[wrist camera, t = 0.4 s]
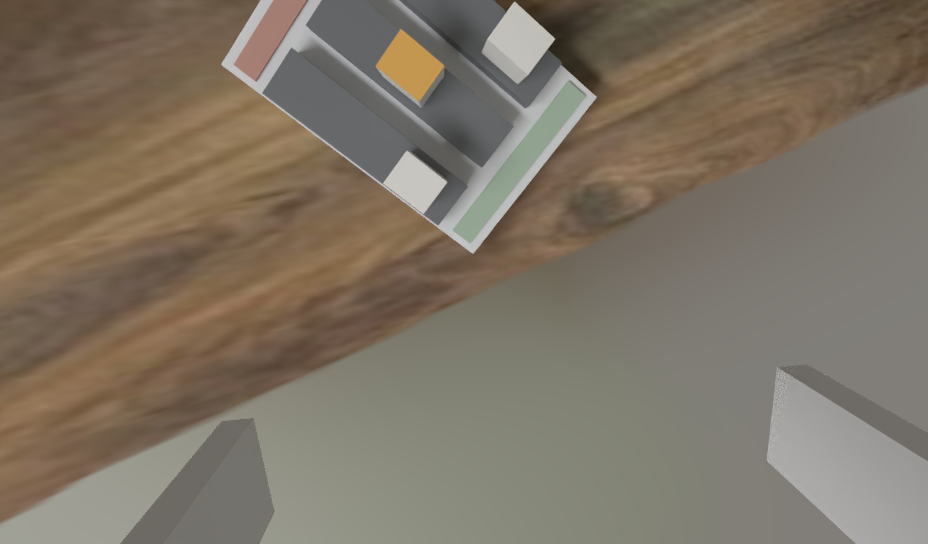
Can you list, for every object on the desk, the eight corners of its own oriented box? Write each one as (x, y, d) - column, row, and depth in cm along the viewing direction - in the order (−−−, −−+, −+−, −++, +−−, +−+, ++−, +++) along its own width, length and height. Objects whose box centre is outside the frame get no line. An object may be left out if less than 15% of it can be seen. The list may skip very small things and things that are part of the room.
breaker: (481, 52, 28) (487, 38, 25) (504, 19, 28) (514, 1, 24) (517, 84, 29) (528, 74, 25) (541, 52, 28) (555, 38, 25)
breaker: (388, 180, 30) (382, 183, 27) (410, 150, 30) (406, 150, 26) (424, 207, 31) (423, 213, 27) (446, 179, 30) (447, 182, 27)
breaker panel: (234, 70, 31) (209, 59, 28) (348, -115, 29) (337, -150, 25) (471, 248, 35) (474, 258, 32) (587, 100, 33) (604, 94, 30)
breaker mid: (383, 77, 28) (375, 66, 25) (405, 44, 28) (400, 28, 24) (421, 108, 29) (419, 101, 25) (443, 76, 28) (444, 65, 25)
